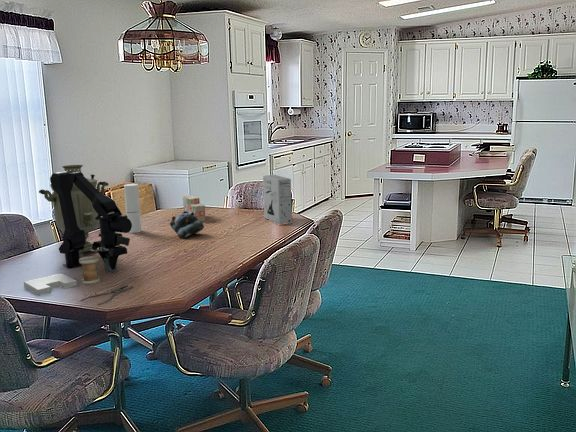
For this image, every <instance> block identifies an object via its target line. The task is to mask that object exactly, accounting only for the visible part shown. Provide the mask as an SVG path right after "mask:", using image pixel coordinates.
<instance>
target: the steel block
mask: <svg viewBox="0 0 576 432" xmlns="http://www.w3.org/2000/svg"><path fill="white" fill-rule="evenodd" d="M103 263H104V271H105V272H106V273H109V274H110V273H115V272H118V262H117V263H116V267H115V269H114V270H112V268H111V266H110V264H109V261H108V259H107V257H105V258H104V261H103Z"/></svg>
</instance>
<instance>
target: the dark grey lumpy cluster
mask: <svg viewBox="0 0 576 432" xmlns="http://www.w3.org/2000/svg"><path fill="white" fill-rule="evenodd" d="M171 218H172V219H171V220H170V222H169V226H170V227H171V229H172V230H173V231H174V232H175V233H176V235H177V237H178V238H179V239H183V240H184V239H186V238H187V237H190V236H192V235H193V234H198V233H199V232H201V231H203V230H204V228H205V226H204V224H203V221H201V222H200V221H198V219H197V217H196V216H195V215H194V213H193V212H191V213H190V214H189V213H188V212H186V211H184V210H183V212H182V213H179V214H178V215H177V216H172V217H171Z"/></svg>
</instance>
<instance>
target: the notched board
mask: <svg viewBox="0 0 576 432" xmlns="http://www.w3.org/2000/svg"><path fill="white" fill-rule="evenodd" d="M77 284H78V283H77V280H75V279H73V278H71V277H70V276H68V275H65V274H63V273H61V272H60V273H56V274H52V275H48V276H43V277H38V278H34V279H30V280H25V281H23V286H24V288H26V289H27V290H29V291H31V292H33V293H35V294H36V295H38V296H40V295H45V294H49V293H51V292H52V289H54V288H58V287H61V288H62V289H64V290H65V289H70V288H74V287H77V286H78V285H77Z"/></svg>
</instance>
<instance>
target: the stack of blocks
mask: <svg viewBox="0 0 576 432" xmlns="http://www.w3.org/2000/svg"><path fill="white" fill-rule="evenodd" d="M182 201H183V202H182V203H183V205H182V206H183V212H184V211H186V212H188V213H189V214H190V213H191V212H193V213H194V215H195V216H196V217H197V219H198V221H200V222H206V205H205V204H202V203H201V202H200V197H198V196H195V195H188V196H187V195H186V196H182Z"/></svg>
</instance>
